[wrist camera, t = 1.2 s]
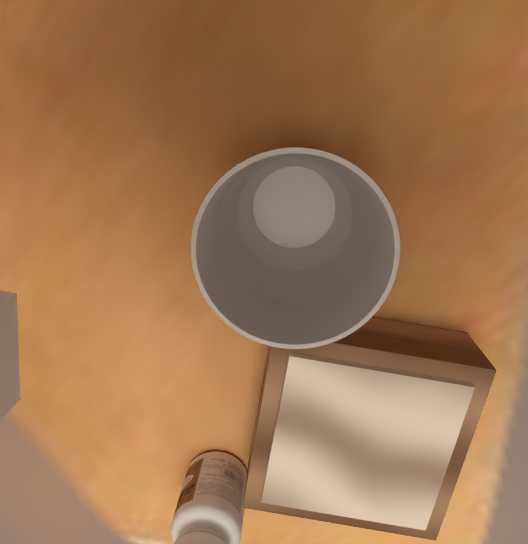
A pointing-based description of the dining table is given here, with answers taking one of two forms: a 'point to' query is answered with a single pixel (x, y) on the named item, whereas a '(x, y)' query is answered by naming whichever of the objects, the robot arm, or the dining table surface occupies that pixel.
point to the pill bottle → (211, 501)
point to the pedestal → (368, 427)
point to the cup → (295, 248)
